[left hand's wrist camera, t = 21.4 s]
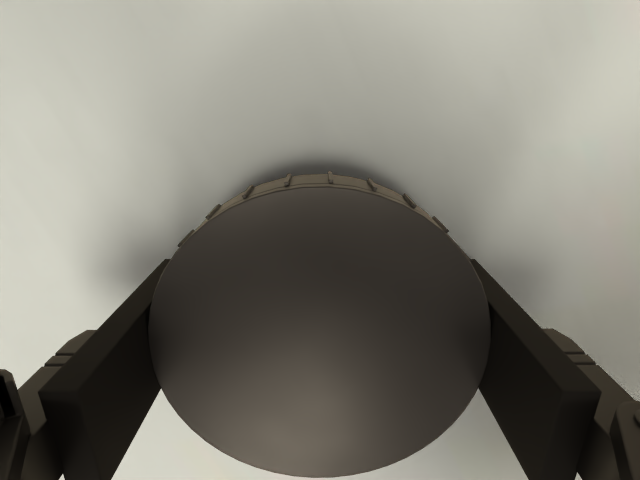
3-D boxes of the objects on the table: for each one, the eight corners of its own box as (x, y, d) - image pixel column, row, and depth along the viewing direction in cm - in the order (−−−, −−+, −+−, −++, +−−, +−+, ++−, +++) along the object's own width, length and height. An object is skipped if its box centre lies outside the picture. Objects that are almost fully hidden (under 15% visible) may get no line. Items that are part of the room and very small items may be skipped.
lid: (425, 452, 14) (438, 497, 13) (161, 417, 14) (141, 459, 12) (515, 203, 11) (548, 221, 9) (174, 142, 10) (148, 151, 9)
